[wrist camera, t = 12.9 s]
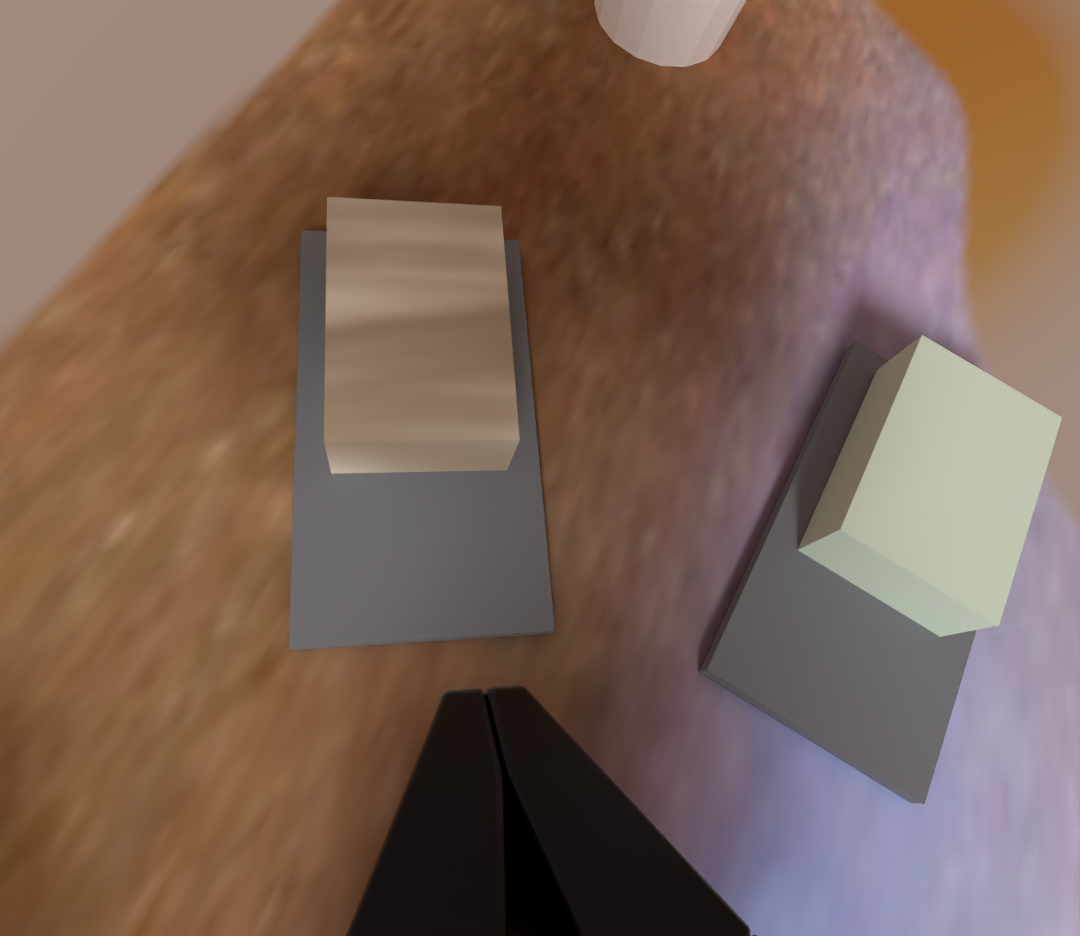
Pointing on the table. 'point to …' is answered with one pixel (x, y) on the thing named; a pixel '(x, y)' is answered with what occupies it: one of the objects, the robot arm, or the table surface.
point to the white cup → (668, 27)
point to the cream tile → (417, 338)
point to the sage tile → (934, 490)
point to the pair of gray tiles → (525, 588)
